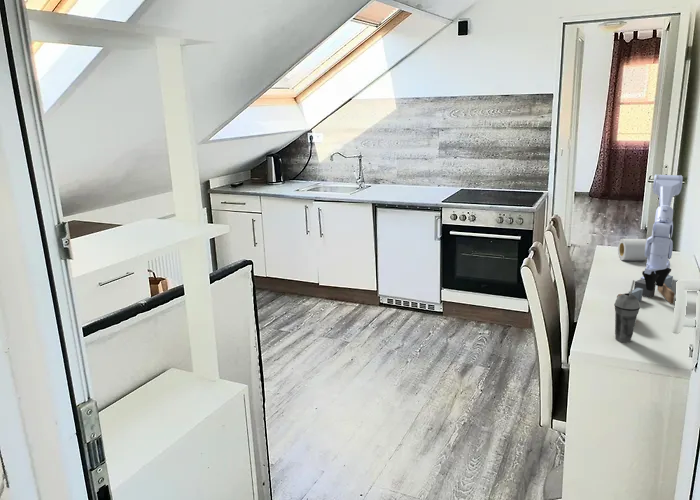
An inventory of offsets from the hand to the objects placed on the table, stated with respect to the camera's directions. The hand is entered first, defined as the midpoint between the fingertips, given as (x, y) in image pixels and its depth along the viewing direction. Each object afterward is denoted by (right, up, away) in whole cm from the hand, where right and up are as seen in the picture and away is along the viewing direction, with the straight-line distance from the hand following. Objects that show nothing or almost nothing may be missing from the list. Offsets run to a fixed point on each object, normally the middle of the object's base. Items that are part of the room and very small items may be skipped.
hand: (654, 288), depth 211 cm
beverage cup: (-29, -14, -34) cm, 47 cm away
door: (+4, -3, 0) cm, 5 cm away
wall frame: (-1, -3, +3) cm, 4 cm away
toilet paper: (+15, +10, +46) cm, 50 cm away
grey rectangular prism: (-2, -3, +4) cm, 5 cm away
